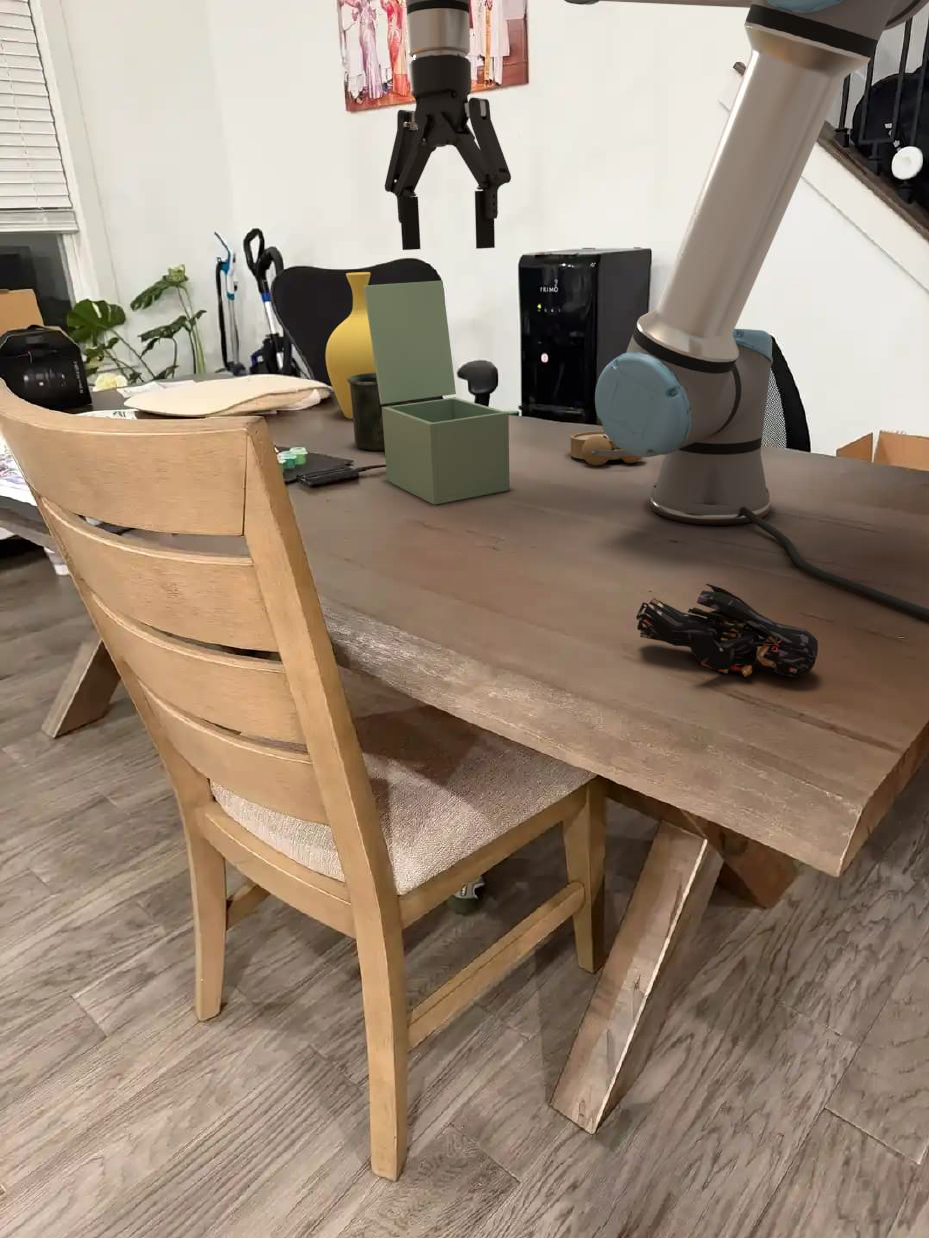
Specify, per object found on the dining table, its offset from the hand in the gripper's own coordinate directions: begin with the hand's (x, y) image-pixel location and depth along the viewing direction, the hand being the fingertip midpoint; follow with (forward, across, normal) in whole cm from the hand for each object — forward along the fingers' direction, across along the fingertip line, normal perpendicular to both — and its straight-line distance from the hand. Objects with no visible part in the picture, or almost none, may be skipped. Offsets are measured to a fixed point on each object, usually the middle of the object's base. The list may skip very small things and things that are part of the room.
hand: (447, 249), depth 111 cm
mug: (+33, +30, -12) cm, 46 cm away
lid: (+13, +11, -4) cm, 17 cm away
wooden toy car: (+33, -8, -28) cm, 44 cm away
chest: (+33, +3, -1) cm, 33 cm away
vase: (+33, +54, -30) cm, 71 cm away
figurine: (+33, -56, +26) cm, 70 cm away
